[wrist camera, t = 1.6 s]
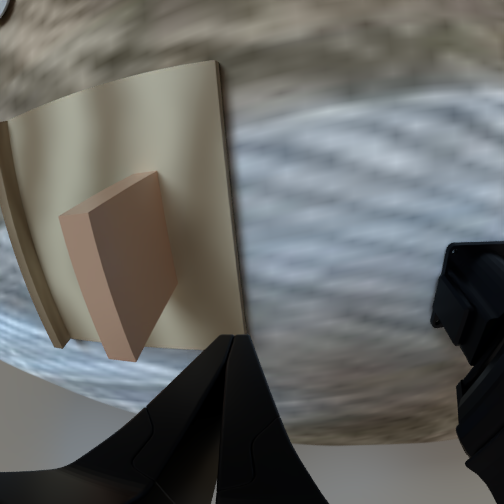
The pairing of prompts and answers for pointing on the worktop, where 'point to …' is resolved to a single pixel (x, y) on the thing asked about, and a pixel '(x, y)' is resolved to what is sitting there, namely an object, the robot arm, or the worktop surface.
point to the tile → (122, 261)
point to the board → (114, 170)
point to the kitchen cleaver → (3, 6)
